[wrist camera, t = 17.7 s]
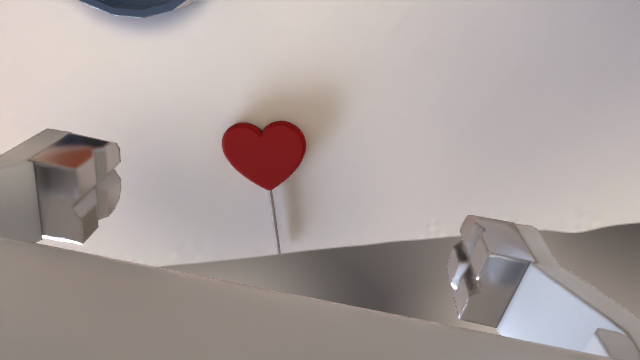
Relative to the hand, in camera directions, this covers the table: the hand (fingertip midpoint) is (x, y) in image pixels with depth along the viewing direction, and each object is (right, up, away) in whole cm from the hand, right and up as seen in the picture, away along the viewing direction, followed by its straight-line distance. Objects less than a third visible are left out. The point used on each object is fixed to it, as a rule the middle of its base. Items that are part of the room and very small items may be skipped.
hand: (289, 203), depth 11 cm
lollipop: (-4, 0, +36) cm, 36 cm away
